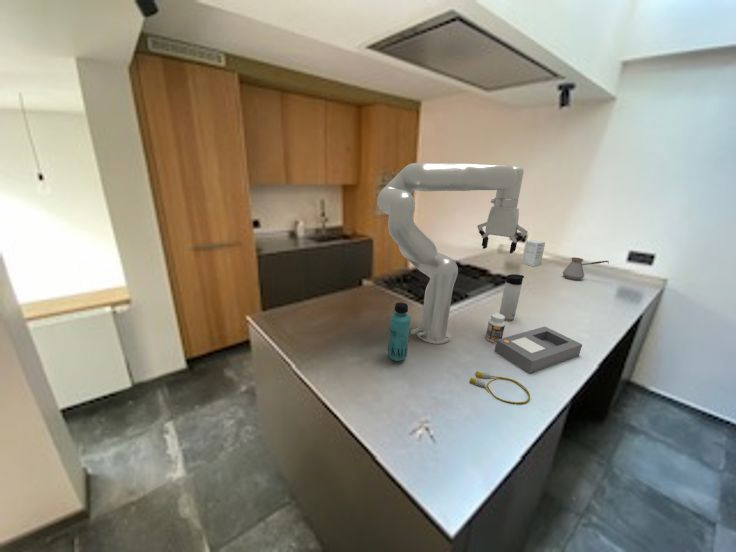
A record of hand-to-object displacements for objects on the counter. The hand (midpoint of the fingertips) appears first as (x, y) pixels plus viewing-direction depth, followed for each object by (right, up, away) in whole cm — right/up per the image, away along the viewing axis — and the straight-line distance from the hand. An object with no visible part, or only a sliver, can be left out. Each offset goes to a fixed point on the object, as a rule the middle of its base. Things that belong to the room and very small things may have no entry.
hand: (497, 250), depth 113 cm
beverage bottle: (-39, -37, -13) cm, 55 cm away
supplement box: (+69, -1, +106) cm, 126 cm away
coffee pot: (+84, -12, +75) cm, 113 cm away
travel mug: (+12, -28, +20) cm, 37 cm away
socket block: (+11, -37, -6) cm, 39 cm away
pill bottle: (-1, -34, +2) cm, 34 cm away
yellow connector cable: (-10, -43, -24) cm, 50 cm away
